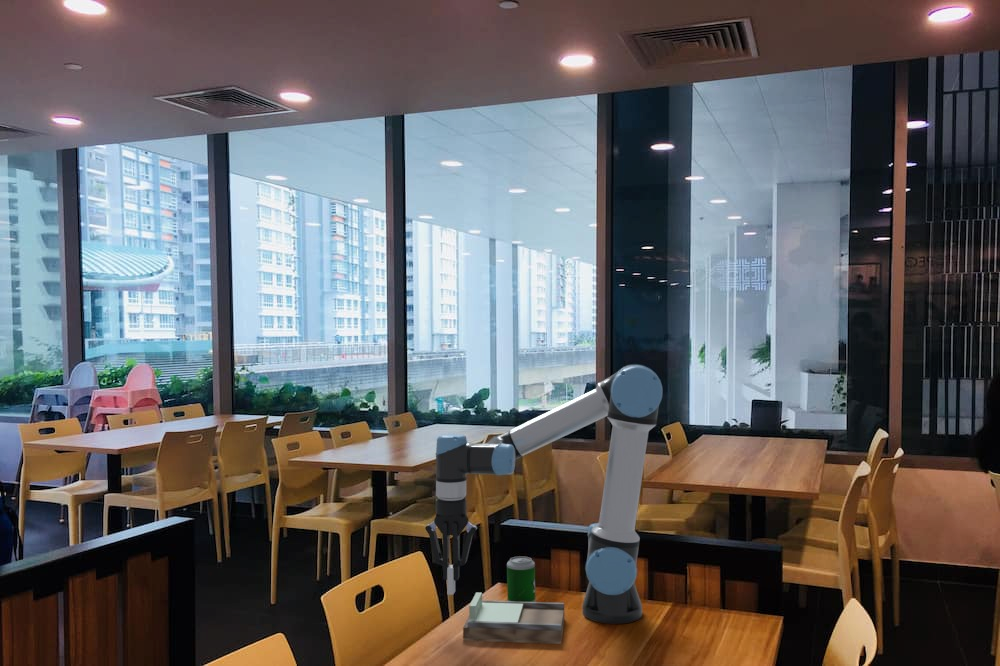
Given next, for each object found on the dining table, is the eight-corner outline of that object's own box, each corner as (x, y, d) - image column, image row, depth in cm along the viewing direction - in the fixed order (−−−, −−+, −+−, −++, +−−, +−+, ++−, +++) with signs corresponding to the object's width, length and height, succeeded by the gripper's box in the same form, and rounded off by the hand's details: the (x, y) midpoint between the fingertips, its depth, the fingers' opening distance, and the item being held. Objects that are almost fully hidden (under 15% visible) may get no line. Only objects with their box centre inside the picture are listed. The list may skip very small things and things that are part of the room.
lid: (523, 606, 194) (523, 591, 195) (517, 625, 182) (517, 609, 182) (477, 605, 196) (477, 590, 196) (468, 624, 183) (468, 608, 183)
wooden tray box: (564, 619, 195) (564, 602, 195) (560, 644, 179) (560, 625, 179) (474, 616, 198) (474, 599, 198) (463, 640, 182) (463, 622, 182)
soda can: (533, 610, 202) (532, 564, 202) (505, 608, 203) (504, 562, 203) (537, 600, 209) (536, 556, 209) (510, 599, 211) (509, 555, 211)
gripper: (479, 495, 193) (479, 589, 193) (429, 493, 195) (428, 586, 195) (474, 501, 186) (474, 599, 186) (422, 499, 188) (421, 596, 188)
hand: (451, 592), depth 190 cm, fingers closed
